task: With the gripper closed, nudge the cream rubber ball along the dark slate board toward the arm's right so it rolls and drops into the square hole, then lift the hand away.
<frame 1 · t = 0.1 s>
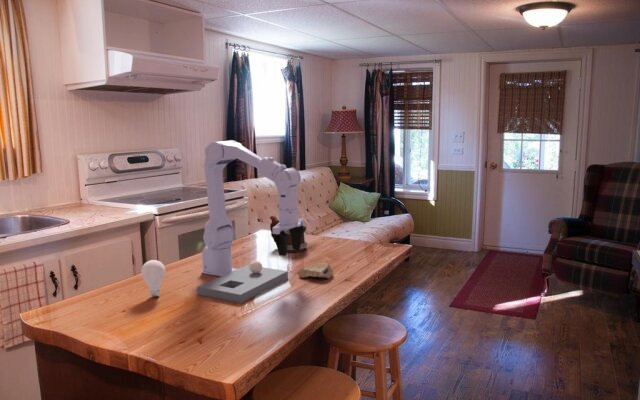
hand: (289, 252, 156), 10 cm above the table, fingers open, 7 cm apart
mug: (288, 249, 199), on the table
light bulb: (155, 297, 149), on the table
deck: (244, 286, 156), on the table
ball: (255, 266, 160), point 4 cm above the table, touching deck
stone: (316, 277, 164), on the table
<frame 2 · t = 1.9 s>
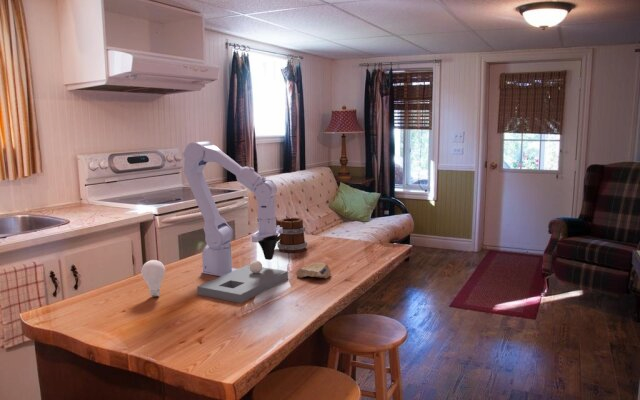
hand: (268, 259, 166), 5 cm above the table, fingers closed
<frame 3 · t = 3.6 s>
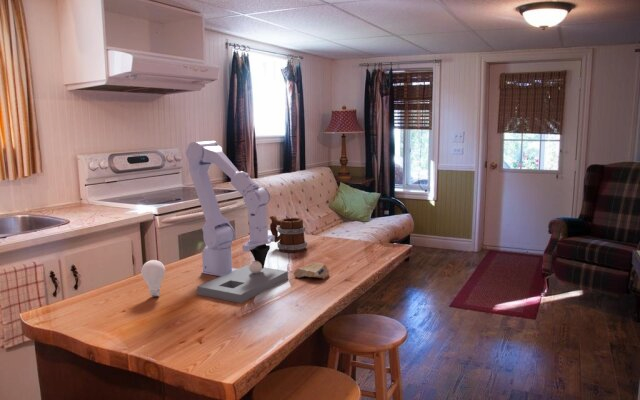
hand: (260, 268, 162), 3 cm above the table, fingers closed, pressing on ball
ball: (255, 267, 160), point 4 cm above the table, tilted 6°, touching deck, gripper
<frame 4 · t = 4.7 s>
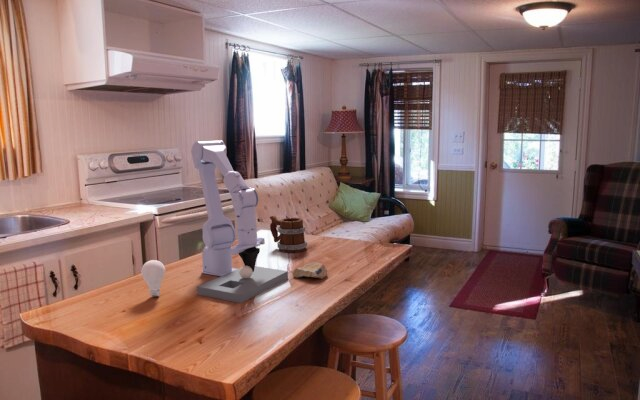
hand: (250, 272, 157), 4 cm above the table, fingers closed, pressing on ball
ball: (245, 272, 156), point 4 cm above the table, tilted 159°, touching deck, gripper
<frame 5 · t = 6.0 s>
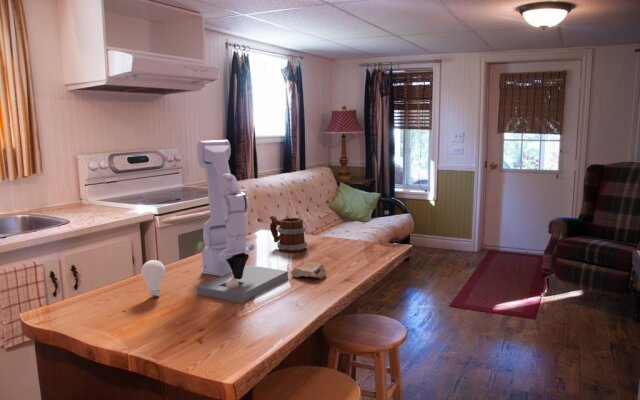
hand: (238, 278, 153), 3 cm above the table, fingers closed
ball: (232, 284, 151), point 2 cm above the table, tilted 32°
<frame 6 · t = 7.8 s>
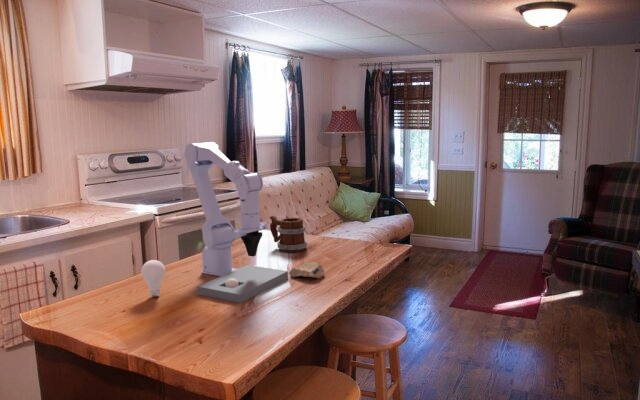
hand: (252, 255, 159), 9 cm above the table, fingers closed
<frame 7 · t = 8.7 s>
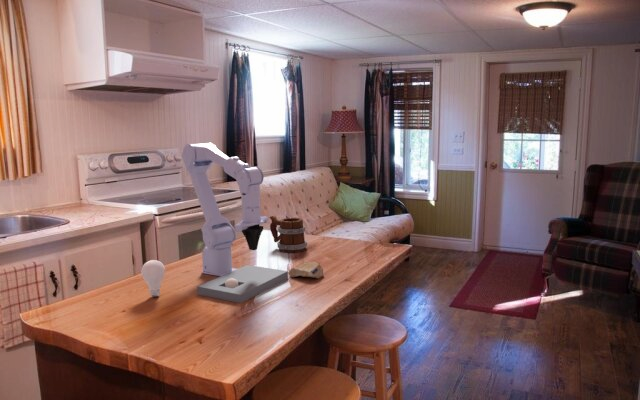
hand: (253, 249, 159), 10 cm above the table, fingers closed
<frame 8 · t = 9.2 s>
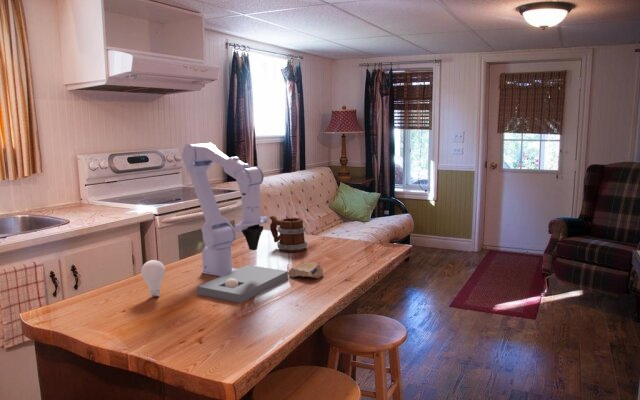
hand: (253, 249, 159), 10 cm above the table, fingers closed
at the end: ball 0.8 cm from the target spot on the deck, point 2.0 cm above the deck's base; ball touching table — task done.
